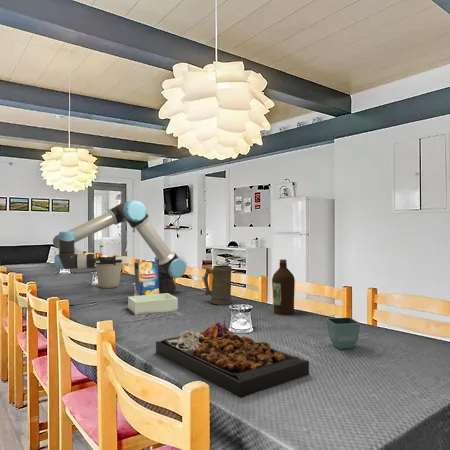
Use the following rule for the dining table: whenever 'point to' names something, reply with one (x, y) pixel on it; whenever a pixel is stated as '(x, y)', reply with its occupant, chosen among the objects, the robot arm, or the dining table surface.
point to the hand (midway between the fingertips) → (128, 259)
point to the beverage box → (146, 278)
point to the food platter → (232, 360)
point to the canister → (108, 275)
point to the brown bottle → (283, 290)
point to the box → (152, 303)
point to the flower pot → (343, 332)
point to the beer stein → (219, 284)
